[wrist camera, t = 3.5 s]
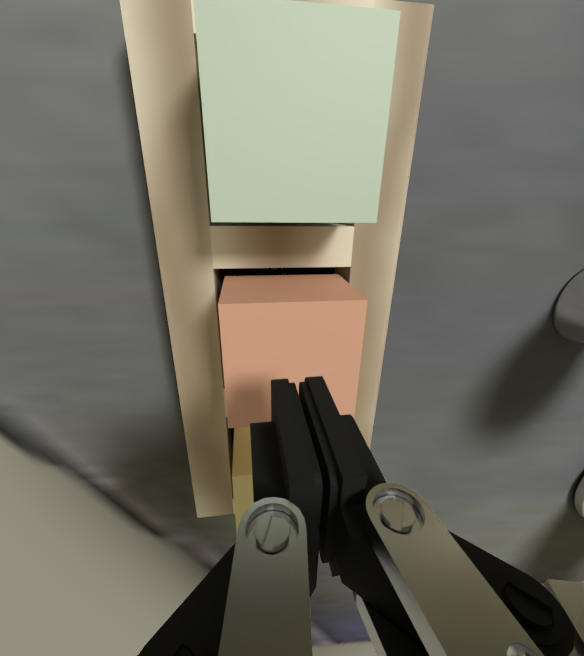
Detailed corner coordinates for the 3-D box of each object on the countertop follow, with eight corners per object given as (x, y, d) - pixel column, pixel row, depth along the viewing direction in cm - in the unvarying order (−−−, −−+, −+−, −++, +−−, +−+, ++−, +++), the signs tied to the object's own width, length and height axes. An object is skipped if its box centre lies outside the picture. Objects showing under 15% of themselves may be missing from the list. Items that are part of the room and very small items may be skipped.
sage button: (353, 66, 13) (400, 11, 9) (342, 215, 16) (376, 222, 12) (209, 56, 13) (192, -10, 9) (220, 214, 15) (211, 222, 11)
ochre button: (328, 410, 21) (348, 464, 16) (323, 478, 23) (340, 540, 19) (234, 417, 20) (231, 476, 16) (239, 486, 22) (238, 553, 18)
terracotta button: (338, 274, 17) (367, 299, 13) (331, 370, 19) (354, 418, 15) (224, 276, 16) (218, 304, 12) (231, 376, 19) (228, 428, 14)
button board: (400, 38, 15) (434, 4, 13) (350, 467, 26) (362, 499, 24) (141, 16, 14) (115, -28, 11) (202, 482, 25) (197, 517, 22)
